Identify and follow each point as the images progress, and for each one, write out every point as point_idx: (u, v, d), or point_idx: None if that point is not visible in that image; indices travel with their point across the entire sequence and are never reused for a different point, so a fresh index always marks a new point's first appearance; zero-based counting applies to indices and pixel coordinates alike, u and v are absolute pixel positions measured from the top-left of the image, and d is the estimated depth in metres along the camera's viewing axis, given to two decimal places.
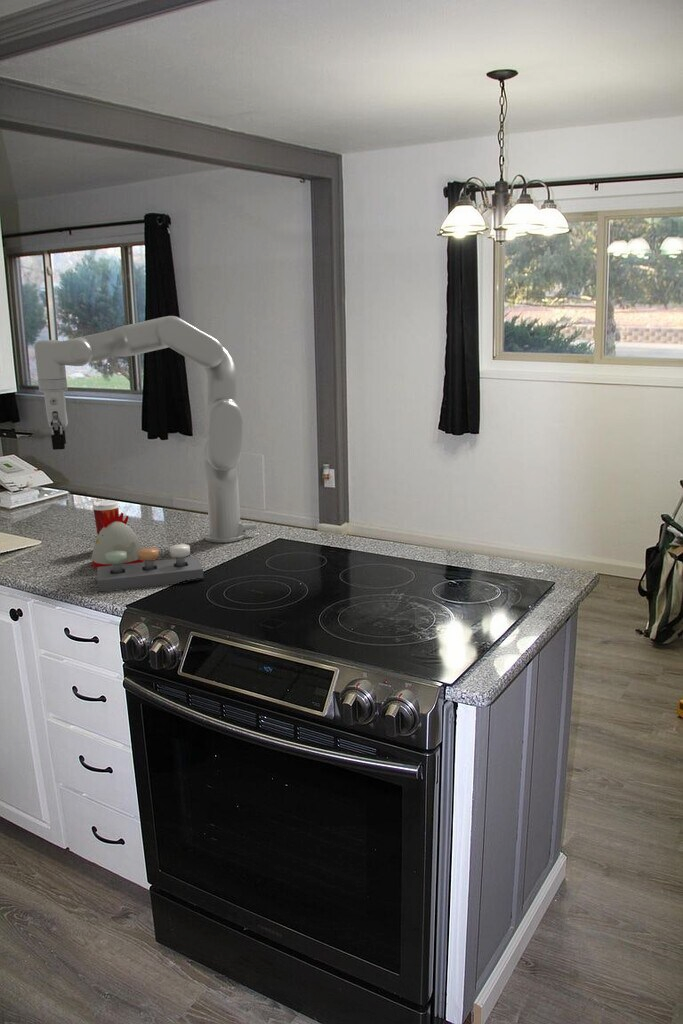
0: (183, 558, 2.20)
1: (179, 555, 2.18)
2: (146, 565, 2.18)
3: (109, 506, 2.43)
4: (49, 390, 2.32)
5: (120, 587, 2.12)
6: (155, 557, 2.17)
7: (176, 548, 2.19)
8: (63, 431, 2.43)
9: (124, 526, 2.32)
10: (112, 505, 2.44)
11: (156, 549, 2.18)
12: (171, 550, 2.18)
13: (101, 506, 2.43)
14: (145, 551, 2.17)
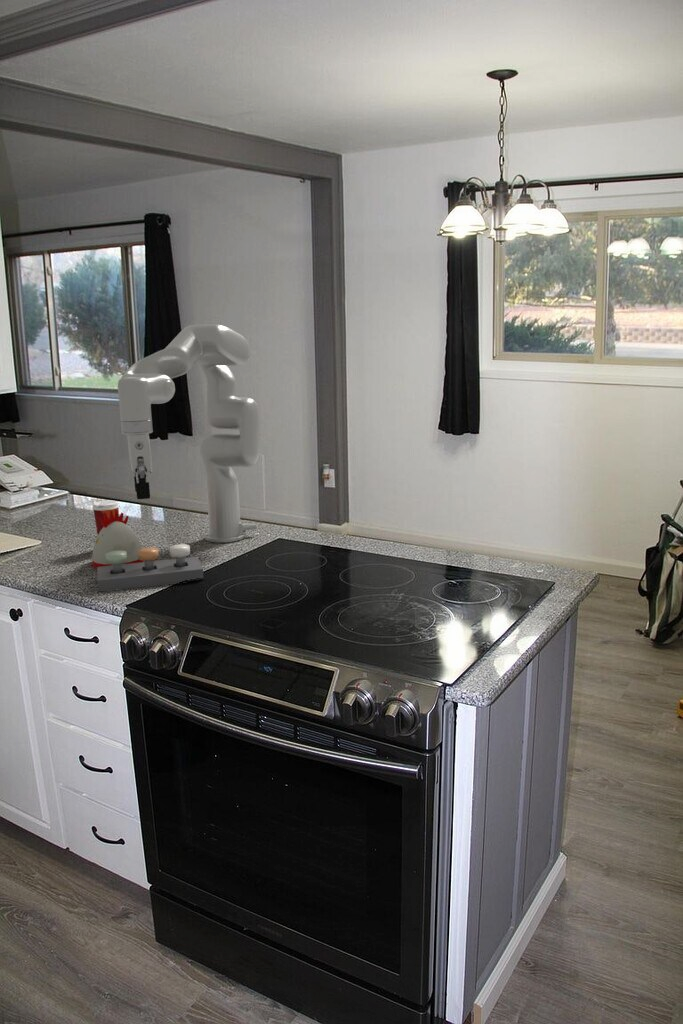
0: (183, 558, 2.20)
1: (179, 555, 2.18)
2: (146, 565, 2.18)
3: (109, 506, 2.43)
4: (134, 433, 2.07)
5: (120, 587, 2.12)
6: (155, 557, 2.17)
7: (176, 548, 2.19)
8: None
9: (124, 526, 2.32)
10: (112, 505, 2.44)
11: (156, 549, 2.18)
12: (171, 550, 2.18)
13: (101, 506, 2.43)
14: (145, 551, 2.17)
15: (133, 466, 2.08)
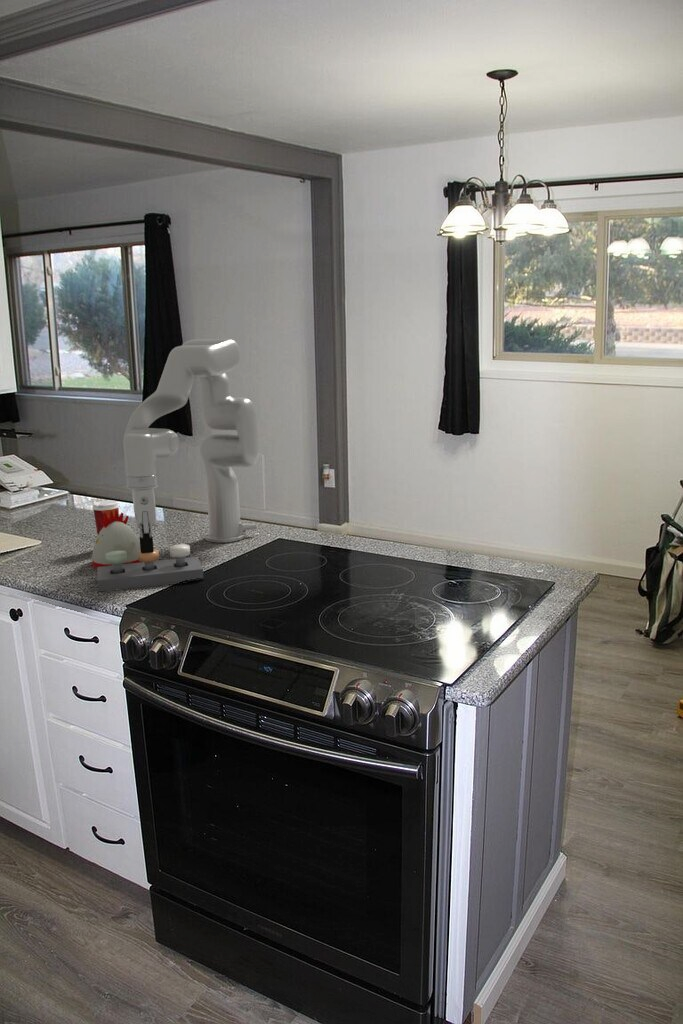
0: (183, 558, 2.20)
1: (179, 555, 2.18)
2: (146, 566, 2.18)
3: (109, 506, 2.43)
4: (139, 488, 2.10)
5: (120, 587, 2.12)
6: (155, 559, 2.17)
7: (176, 548, 2.19)
8: None
9: (124, 526, 2.32)
10: (112, 505, 2.44)
11: (156, 550, 2.18)
12: (171, 550, 2.18)
13: (101, 506, 2.43)
14: (145, 553, 2.17)
15: (138, 521, 2.11)
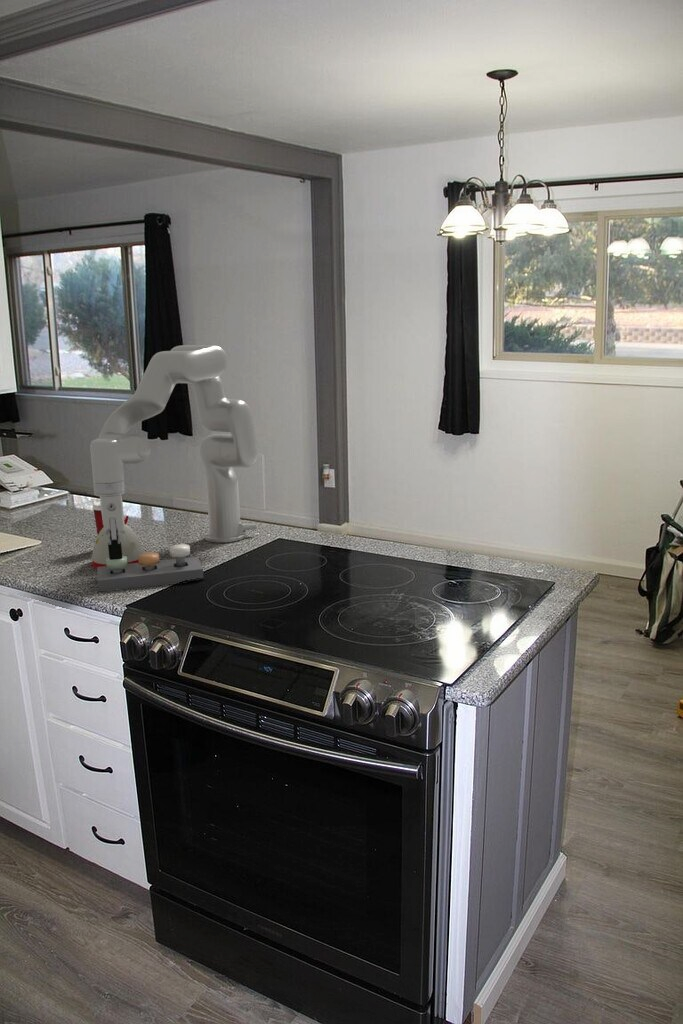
0: (183, 558, 2.20)
1: (179, 555, 2.18)
2: None
3: None
4: (106, 494, 2.08)
5: (120, 587, 2.12)
6: (155, 562, 2.17)
7: (176, 548, 2.19)
8: None
9: None
10: None
11: (156, 554, 2.19)
12: (171, 550, 2.18)
13: None
14: (145, 556, 2.17)
15: (105, 527, 2.09)
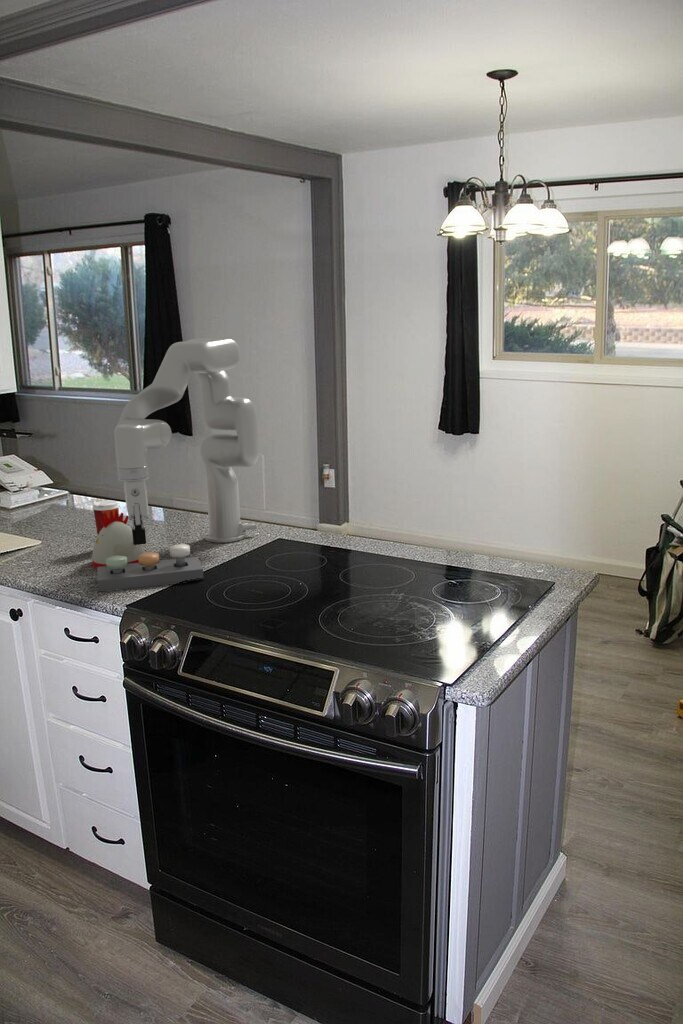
0: (183, 558, 2.20)
1: (179, 555, 2.18)
2: None
3: (109, 506, 2.43)
4: (130, 480, 2.09)
5: (120, 587, 2.12)
6: (155, 562, 2.17)
7: (176, 548, 2.19)
8: (143, 529, 2.17)
9: (124, 526, 2.32)
10: (112, 505, 2.44)
11: (156, 554, 2.19)
12: (171, 550, 2.18)
13: (101, 506, 2.43)
14: (145, 556, 2.17)
15: (129, 513, 2.10)
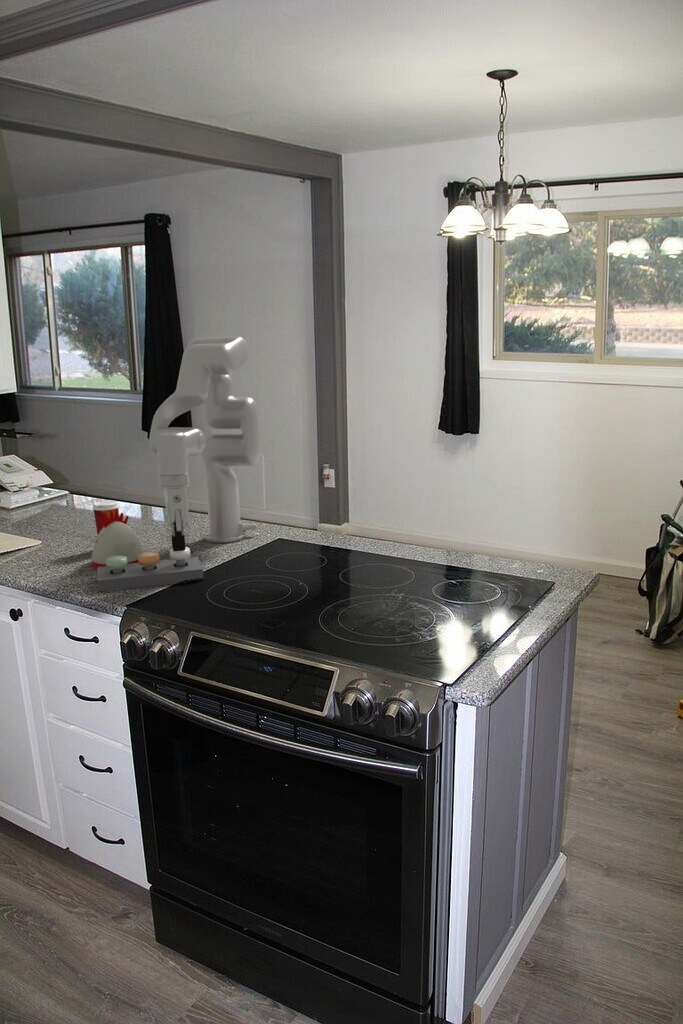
0: (183, 561, 2.20)
1: (179, 558, 2.18)
2: None
3: (109, 506, 2.43)
4: (172, 487, 2.12)
5: (120, 587, 2.12)
6: (155, 562, 2.17)
7: (176, 551, 2.19)
8: None
9: (124, 526, 2.32)
10: (112, 505, 2.44)
11: (156, 554, 2.19)
12: (171, 553, 2.18)
13: (101, 506, 2.43)
14: (145, 556, 2.17)
15: (171, 519, 2.13)
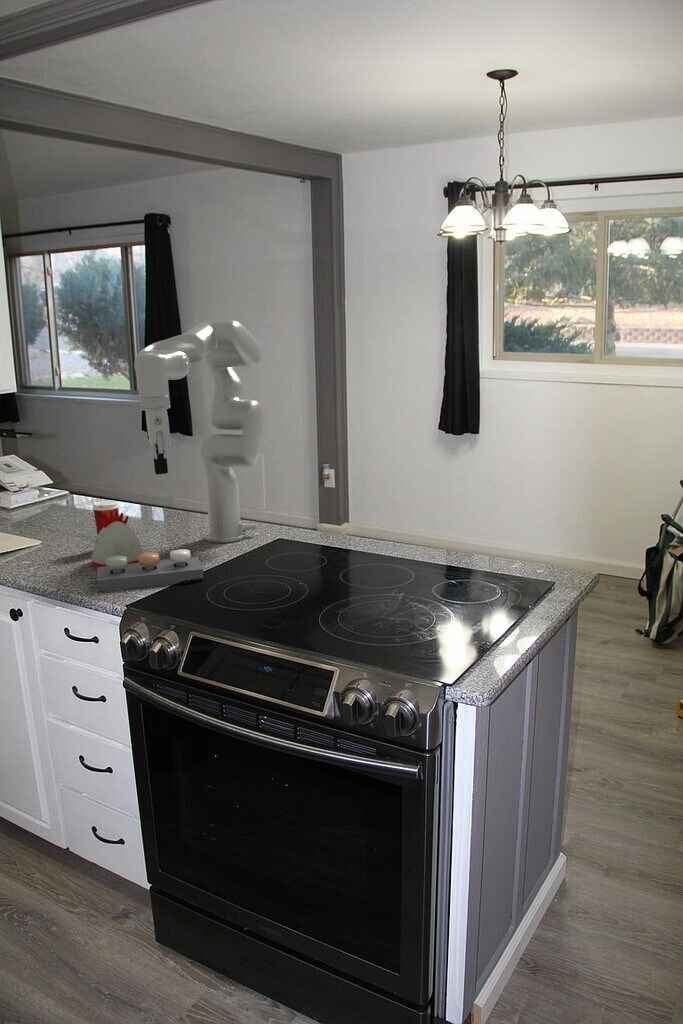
0: (183, 563, 2.20)
1: (179, 560, 2.18)
2: None
3: (109, 506, 2.43)
4: (153, 408, 2.12)
5: (120, 587, 2.12)
6: (155, 562, 2.17)
7: (176, 553, 2.19)
8: None
9: (124, 526, 2.32)
10: (112, 505, 2.44)
11: (156, 554, 2.19)
12: (171, 555, 2.19)
13: (101, 506, 2.43)
14: (145, 556, 2.17)
15: (152, 441, 2.13)
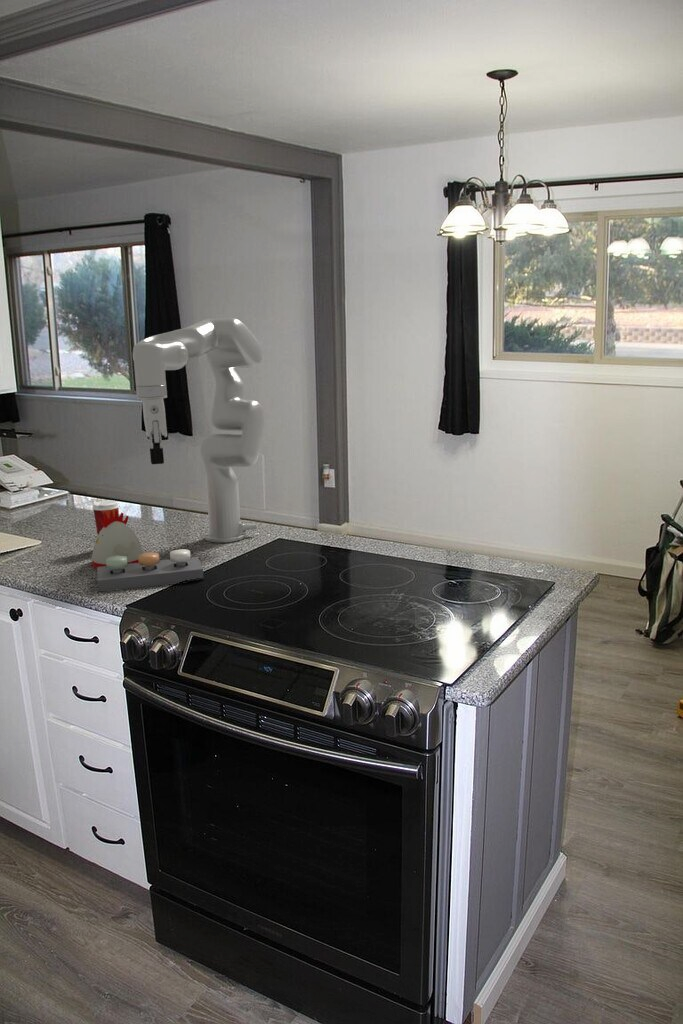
0: (183, 563, 2.20)
1: (179, 560, 2.18)
2: None
3: (109, 506, 2.43)
4: (149, 397, 2.12)
5: (120, 587, 2.12)
6: (155, 562, 2.17)
7: (176, 553, 2.19)
8: None
9: (124, 526, 2.32)
10: (112, 505, 2.44)
11: (156, 554, 2.19)
12: (171, 555, 2.19)
13: (101, 506, 2.43)
14: (145, 556, 2.17)
15: (148, 430, 2.13)
